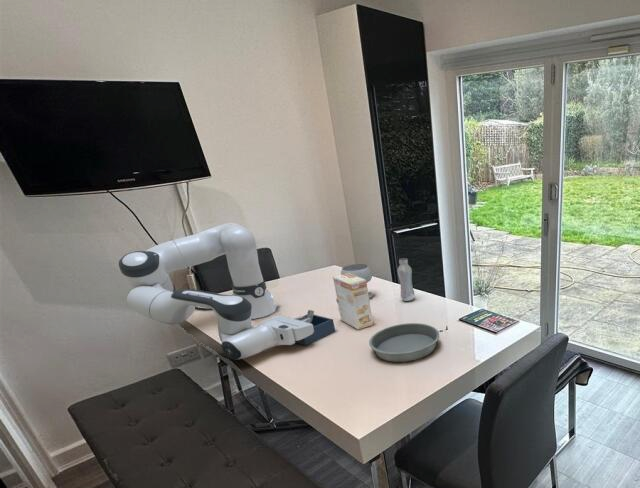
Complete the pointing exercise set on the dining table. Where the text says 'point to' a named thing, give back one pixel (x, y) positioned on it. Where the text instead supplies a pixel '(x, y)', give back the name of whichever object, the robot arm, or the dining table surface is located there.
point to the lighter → (309, 315)
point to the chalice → (359, 272)
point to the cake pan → (404, 342)
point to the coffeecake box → (353, 300)
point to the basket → (318, 329)
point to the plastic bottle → (405, 280)
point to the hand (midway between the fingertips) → (307, 318)
